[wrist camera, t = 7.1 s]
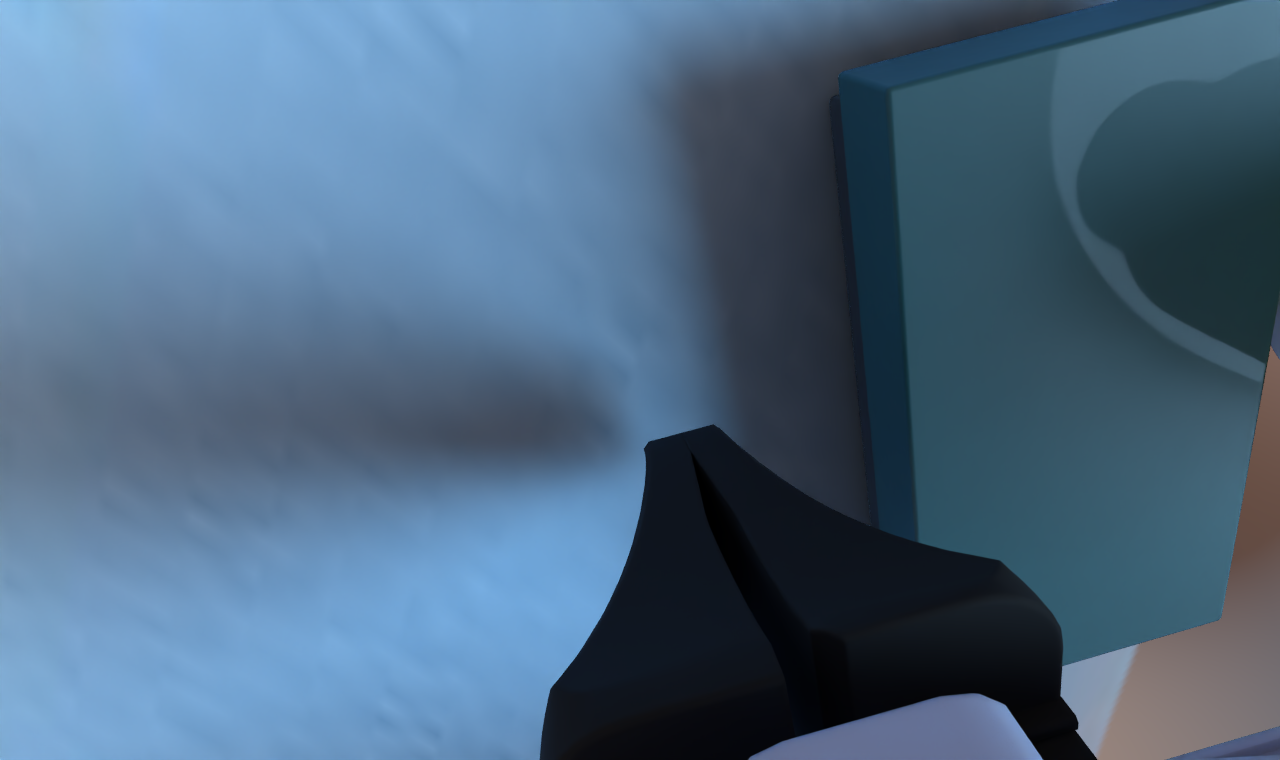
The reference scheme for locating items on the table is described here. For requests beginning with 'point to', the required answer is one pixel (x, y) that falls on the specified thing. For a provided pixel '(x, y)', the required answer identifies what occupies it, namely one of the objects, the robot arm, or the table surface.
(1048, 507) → the teal flat panel
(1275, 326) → the supplement bottle
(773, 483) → the robot arm
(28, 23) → the table surface
